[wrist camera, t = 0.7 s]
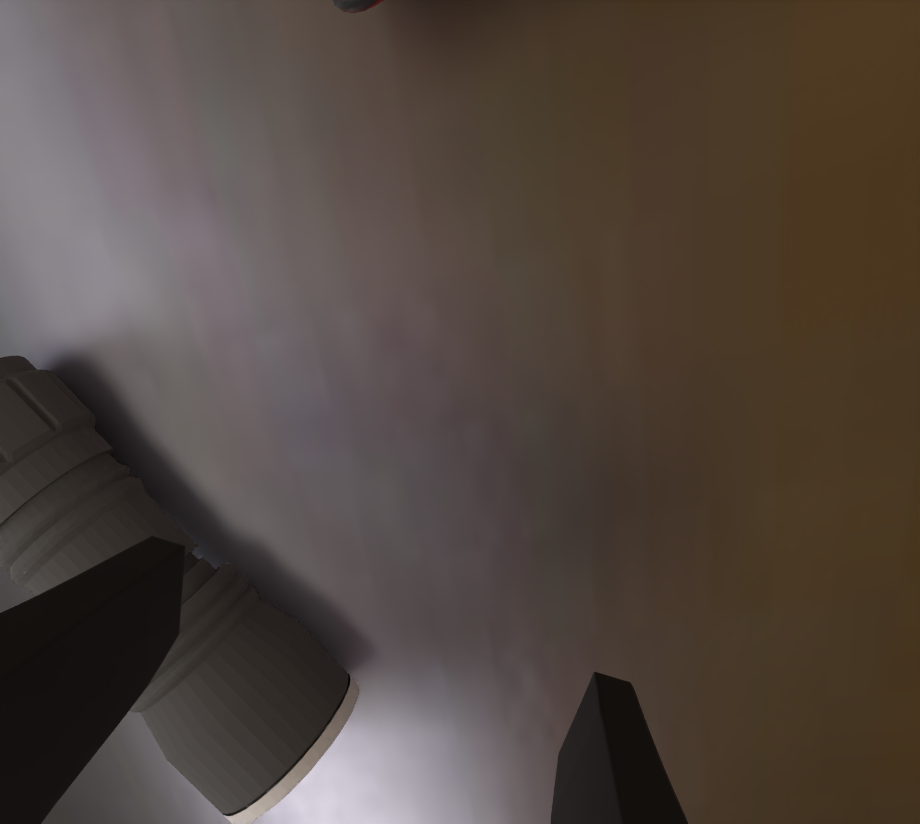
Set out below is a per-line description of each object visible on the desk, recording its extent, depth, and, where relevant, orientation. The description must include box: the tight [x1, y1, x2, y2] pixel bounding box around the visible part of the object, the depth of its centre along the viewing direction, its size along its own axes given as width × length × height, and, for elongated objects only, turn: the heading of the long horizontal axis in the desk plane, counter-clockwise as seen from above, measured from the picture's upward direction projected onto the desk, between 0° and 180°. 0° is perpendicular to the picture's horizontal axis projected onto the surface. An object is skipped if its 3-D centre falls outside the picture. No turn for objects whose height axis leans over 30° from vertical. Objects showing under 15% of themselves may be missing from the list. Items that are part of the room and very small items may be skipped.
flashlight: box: [0, 356, 359, 824], centre depth 22 cm, size 15×5×5 cm, turn 42°
